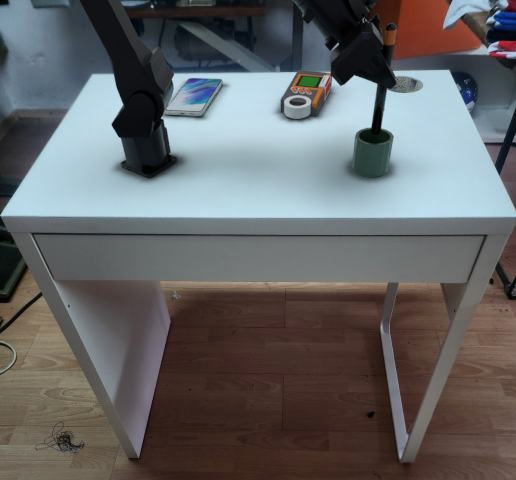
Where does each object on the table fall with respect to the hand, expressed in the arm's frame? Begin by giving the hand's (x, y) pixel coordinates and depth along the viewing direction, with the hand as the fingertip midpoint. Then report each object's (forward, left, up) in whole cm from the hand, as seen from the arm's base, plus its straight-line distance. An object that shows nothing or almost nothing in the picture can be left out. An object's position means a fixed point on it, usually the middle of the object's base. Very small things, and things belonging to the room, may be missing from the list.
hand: (393, 83), depth 67 cm
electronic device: (+13, +22, -12) cm, 29 cm away
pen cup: (-1, +1, -12) cm, 12 cm away
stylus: (-1, +1, -7) cm, 7 cm away
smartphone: (+3, +40, -12) cm, 42 cm away
